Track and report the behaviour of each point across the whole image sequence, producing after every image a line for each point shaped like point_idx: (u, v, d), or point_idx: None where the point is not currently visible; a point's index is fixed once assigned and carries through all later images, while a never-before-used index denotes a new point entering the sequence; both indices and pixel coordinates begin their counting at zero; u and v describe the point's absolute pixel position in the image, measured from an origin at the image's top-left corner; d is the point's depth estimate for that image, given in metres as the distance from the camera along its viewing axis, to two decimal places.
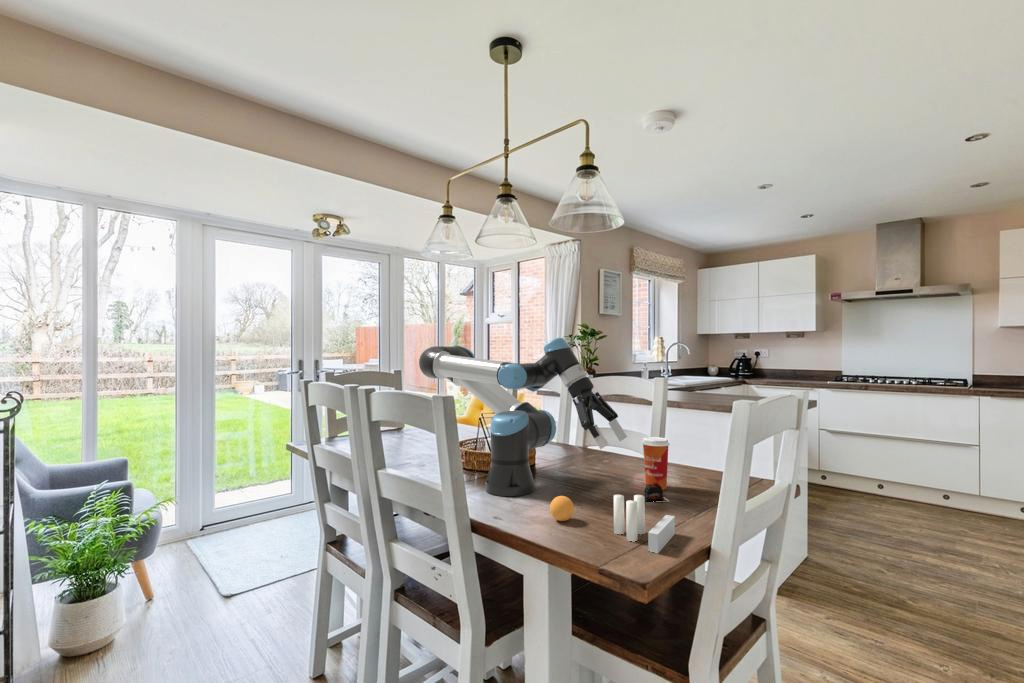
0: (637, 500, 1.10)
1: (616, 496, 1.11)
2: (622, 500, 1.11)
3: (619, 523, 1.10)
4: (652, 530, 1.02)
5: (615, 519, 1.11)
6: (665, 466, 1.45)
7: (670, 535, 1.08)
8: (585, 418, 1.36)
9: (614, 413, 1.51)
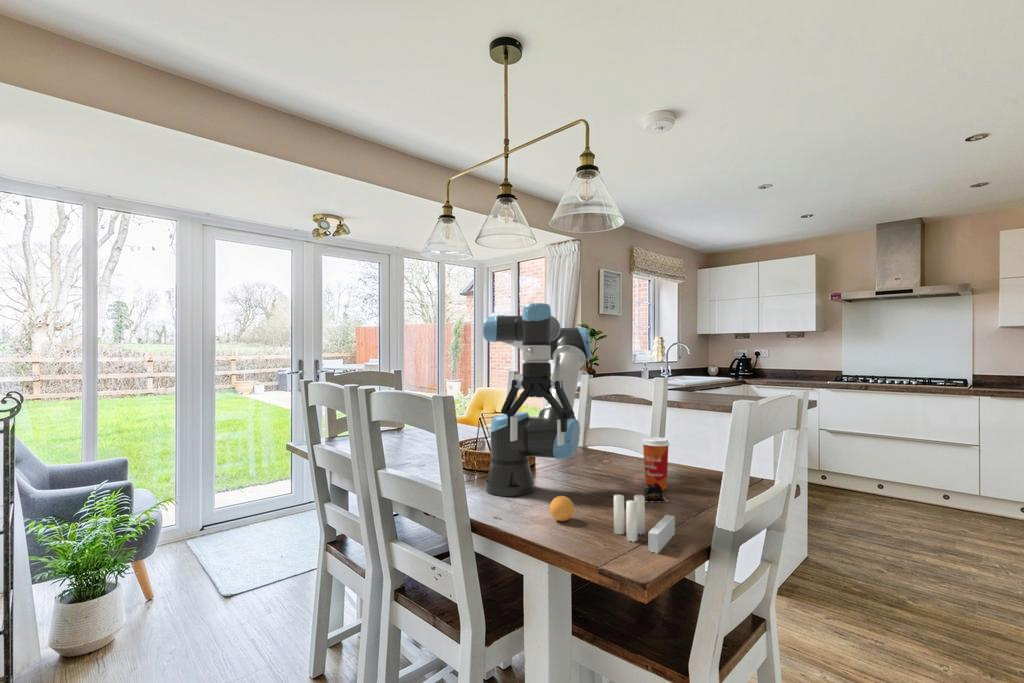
0: (637, 500, 1.10)
1: (616, 496, 1.11)
2: (622, 500, 1.11)
3: (619, 523, 1.10)
4: (652, 530, 1.02)
5: (615, 519, 1.11)
6: (665, 466, 1.45)
7: (670, 535, 1.08)
8: None
9: (565, 413, 1.21)
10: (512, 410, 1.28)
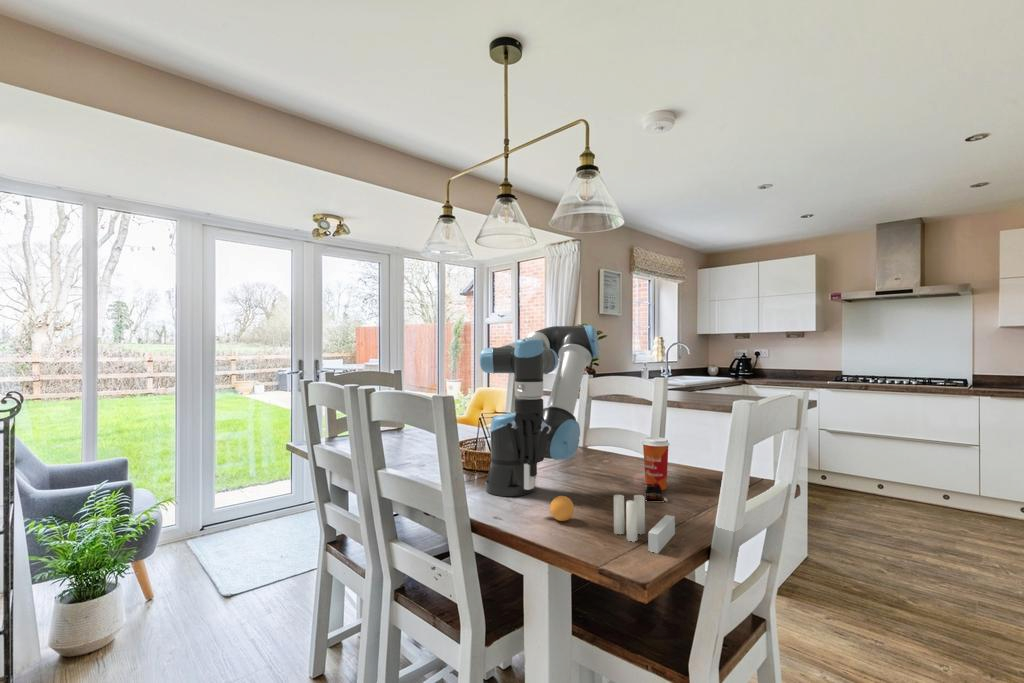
0: (637, 500, 1.10)
1: (616, 496, 1.11)
2: (622, 500, 1.11)
3: (619, 523, 1.10)
4: (652, 530, 1.02)
5: (615, 519, 1.11)
6: (665, 466, 1.45)
7: (670, 535, 1.08)
8: None
9: (535, 456, 1.23)
10: (523, 455, 1.25)
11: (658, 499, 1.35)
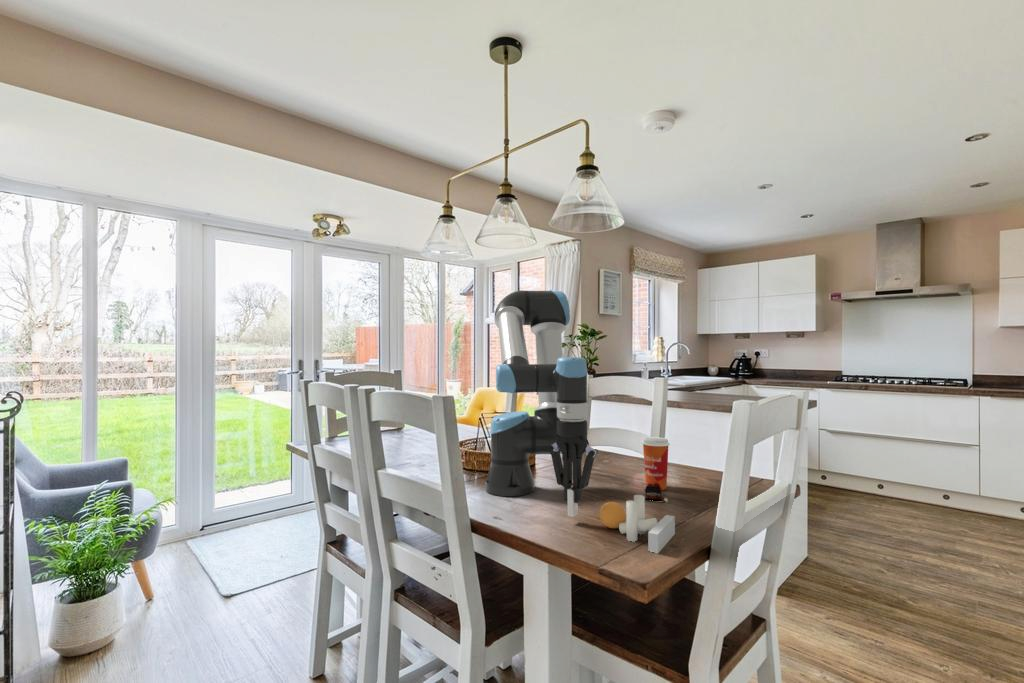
0: (637, 500, 1.10)
1: (655, 522, 1.07)
2: None
3: None
4: (652, 530, 1.02)
5: None
6: (665, 466, 1.45)
7: (670, 535, 1.08)
8: None
9: (580, 482, 1.16)
10: (566, 480, 1.18)
11: (658, 499, 1.35)
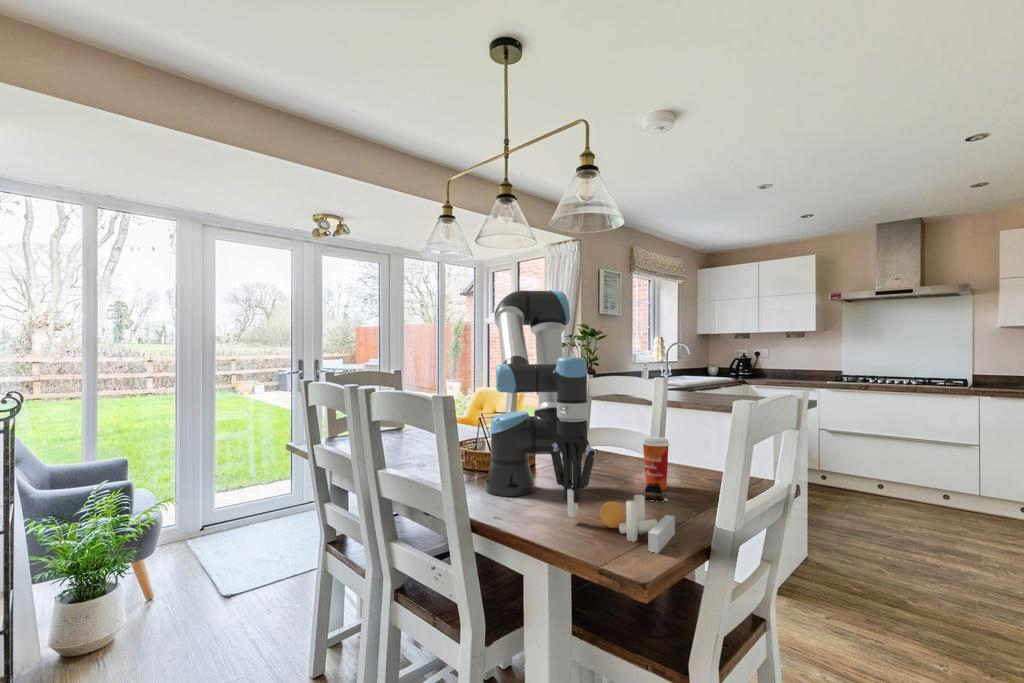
0: (637, 500, 1.10)
1: (655, 523, 1.07)
2: None
3: None
4: (652, 530, 1.02)
5: None
6: (665, 466, 1.45)
7: (670, 535, 1.08)
8: None
9: (580, 482, 1.16)
10: (566, 480, 1.18)
11: (658, 499, 1.35)
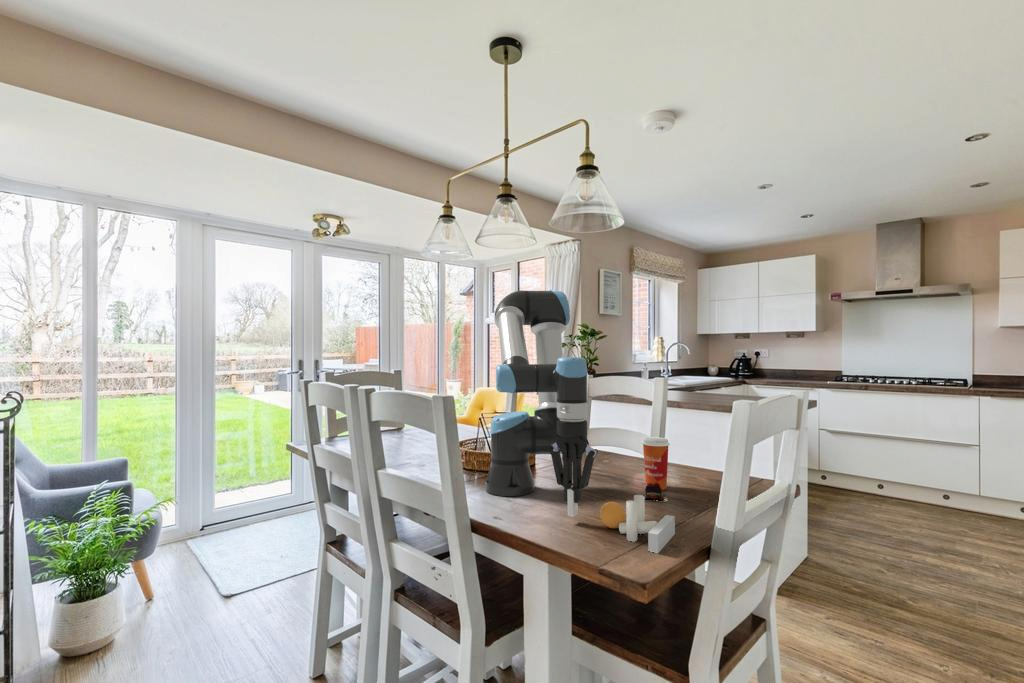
0: (637, 500, 1.10)
1: None
2: None
3: None
4: (652, 530, 1.02)
5: None
6: (665, 466, 1.45)
7: (670, 535, 1.08)
8: None
9: (580, 482, 1.16)
10: (566, 480, 1.18)
11: (658, 499, 1.35)
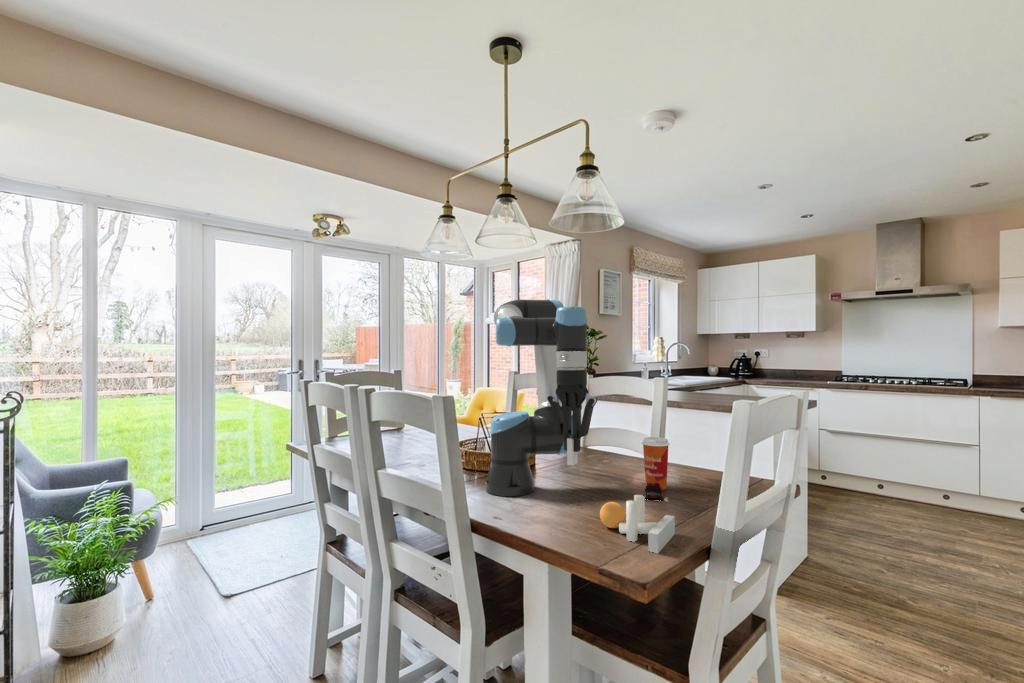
0: (637, 500, 1.10)
1: None
2: None
3: None
4: (652, 530, 1.02)
5: None
6: (665, 466, 1.45)
7: (670, 535, 1.08)
8: None
9: (579, 430, 1.16)
10: (565, 429, 1.18)
11: (658, 498, 1.35)
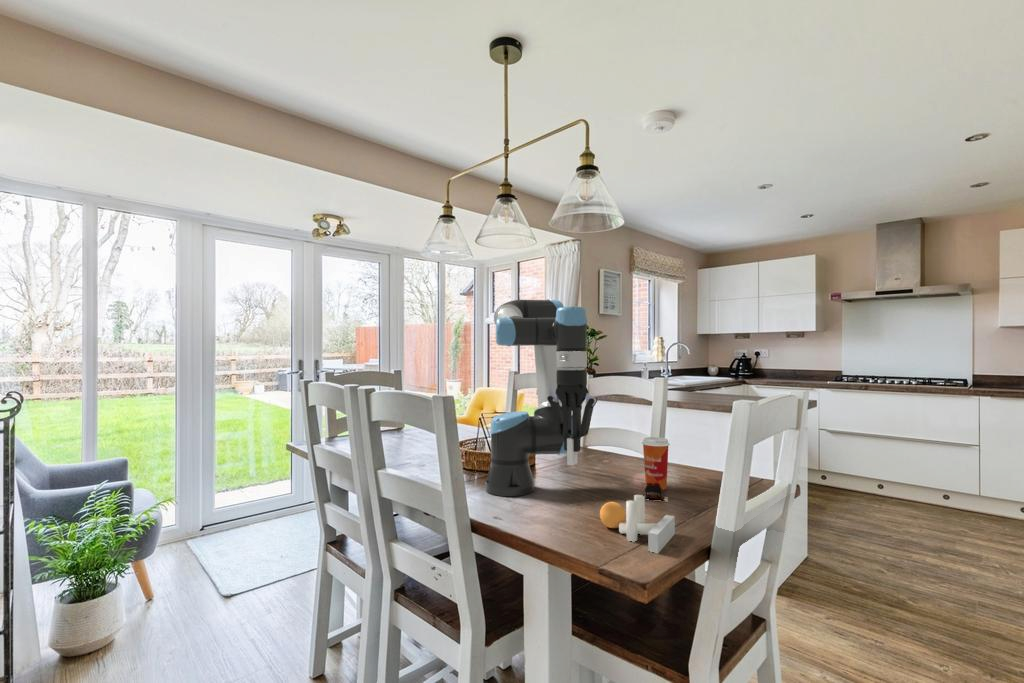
0: (637, 500, 1.10)
1: None
2: None
3: None
4: (652, 530, 1.02)
5: None
6: (665, 466, 1.45)
7: (670, 535, 1.08)
8: None
9: (579, 430, 1.16)
10: (565, 429, 1.18)
11: (658, 498, 1.36)
